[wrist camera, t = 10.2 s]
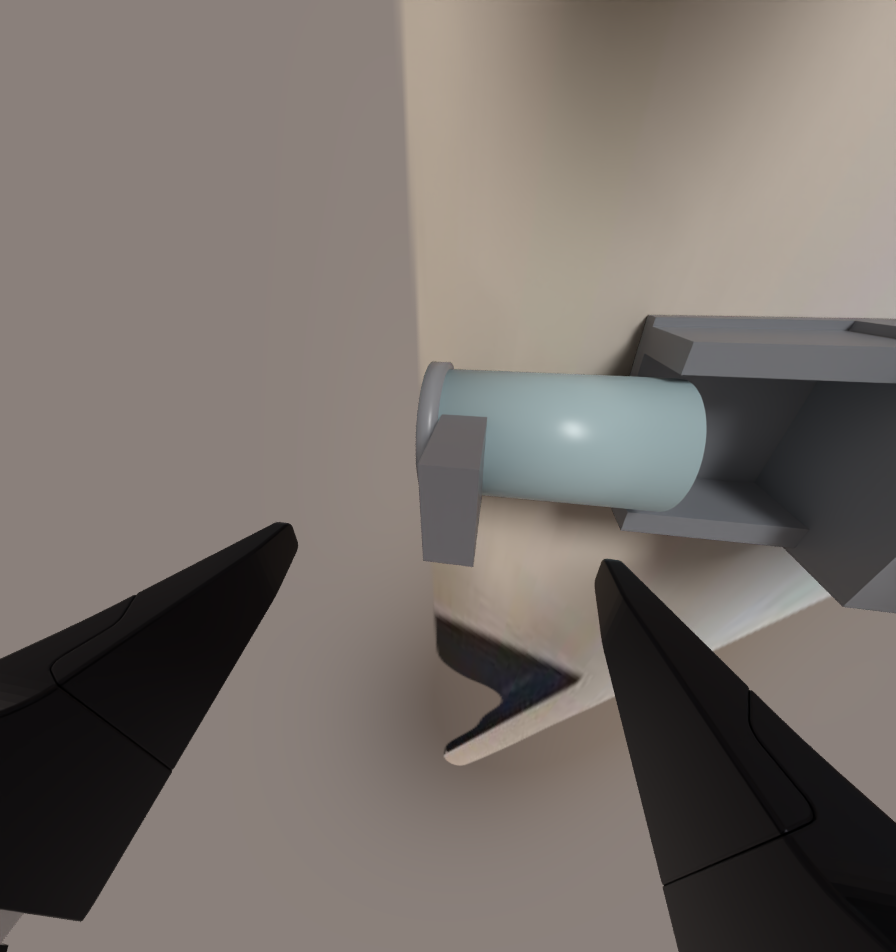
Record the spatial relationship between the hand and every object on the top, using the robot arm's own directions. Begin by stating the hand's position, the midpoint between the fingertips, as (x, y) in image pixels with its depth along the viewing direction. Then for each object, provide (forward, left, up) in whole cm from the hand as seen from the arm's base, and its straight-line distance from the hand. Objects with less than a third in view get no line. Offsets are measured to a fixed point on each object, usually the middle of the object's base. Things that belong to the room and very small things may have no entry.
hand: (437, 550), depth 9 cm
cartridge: (-4, 0, -11) cm, 12 cm away
